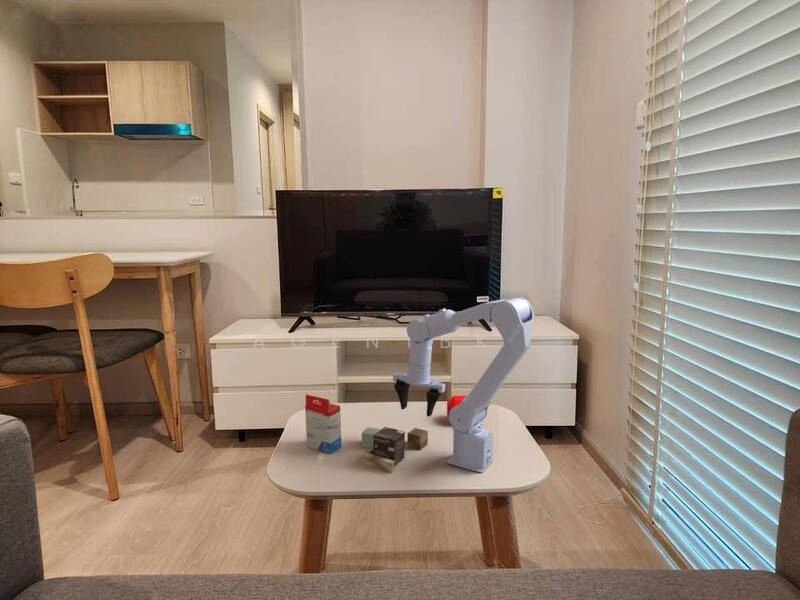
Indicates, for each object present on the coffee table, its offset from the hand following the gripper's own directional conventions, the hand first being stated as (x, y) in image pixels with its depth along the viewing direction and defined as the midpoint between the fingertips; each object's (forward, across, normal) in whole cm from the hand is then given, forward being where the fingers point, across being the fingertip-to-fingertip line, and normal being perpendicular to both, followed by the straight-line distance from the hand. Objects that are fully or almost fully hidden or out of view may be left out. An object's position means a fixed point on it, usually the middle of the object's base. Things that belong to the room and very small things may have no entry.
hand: (416, 411), depth 127 cm
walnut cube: (+10, -1, 0) cm, 10 cm away
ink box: (+11, +21, +13) cm, 27 cm away
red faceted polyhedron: (+10, -5, -21) cm, 23 cm away
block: (+10, +10, +5) cm, 16 cm away
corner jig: (+10, +2, +11) cm, 15 cm away
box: (+10, +2, +11) cm, 15 cm away
